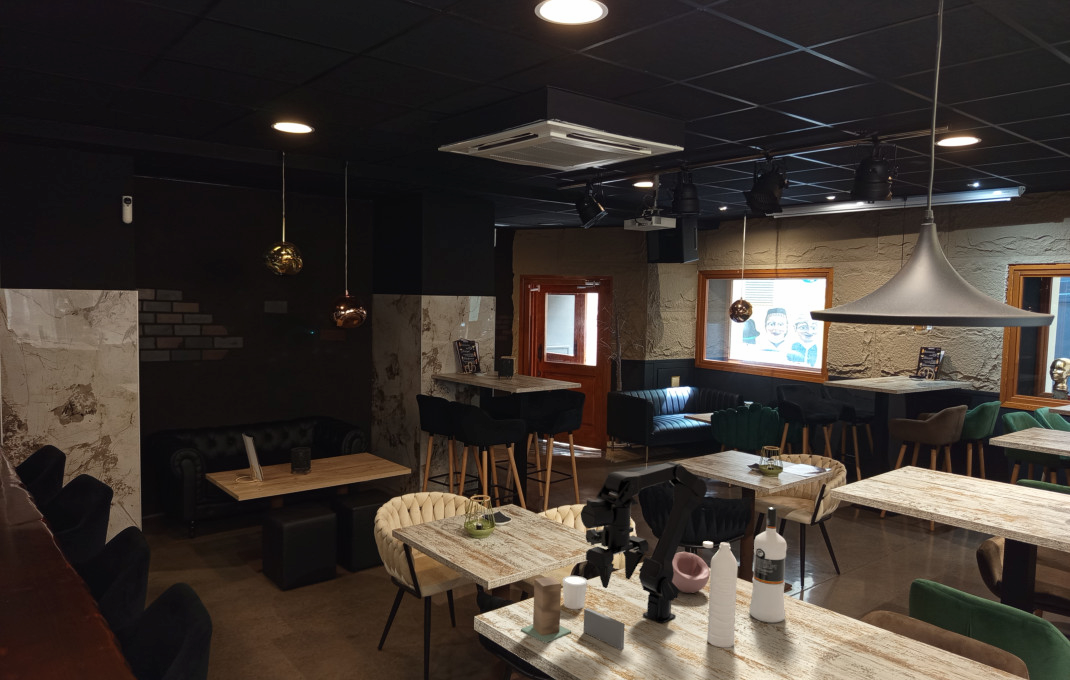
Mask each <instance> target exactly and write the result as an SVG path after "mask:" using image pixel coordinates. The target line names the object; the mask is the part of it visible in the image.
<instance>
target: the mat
mask: <svg viewBox="0 0 1070 680" xmlns="http://www.w3.org/2000/svg"><path fill="white" fill-rule="evenodd" d="M520 631H521V632H523V633H525V634H527V635H529V636H531V637H532V638H535V639H537V640H539V641H541V640H542V641H541V642H543V641H544V642H543V643H545V642H547V643H549V641H550V642H552V641H555V640H557V639H559V638H561V637H563V636H566V635H568V634H570V632H571V633H572V630H571V629H569V628H567V627H564V626H562V625H560V629H559V632H558V633H553V634H547V635H542V636H541V635H540V634H539V633H538V632H537V631H536V630H535V629H534V628H533V623H532V624H529V625H527V626H525V627H522V628H520Z"/></svg>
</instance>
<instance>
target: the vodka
mask: <svg viewBox="0 0 1070 680" xmlns="http://www.w3.org/2000/svg"><path fill="white" fill-rule="evenodd" d="M777 514H778V508H777V507H774V506H773V507H772V506H767V508H766V526H765V527H766V528H765V531H762V532H761V533H759V534H757V535H756V536H755V539H754V540H753V546H754V547H753V548H754V549H753V553H754V555H753V556H754V557H753V577H752V592H751V600H750V604H749V607H748V608H749V609H748V610H749V615H751V617H752V618H754V619H755V620H757V621H761V622H764V623H770V624H775V623H780V622H783V621H784V620H785V617H786V609H785V595H784V593H785V591H784V590H785V585H786V582H785V570H786V558H787V548H788V544H787V540H786V539H785V538H784V537H783V536H782V535H780V534H779V533H778V532H777V519H778V517H777V516H778V515H777Z"/></svg>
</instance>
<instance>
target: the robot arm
mask: <svg viewBox="0 0 1070 680" xmlns="http://www.w3.org/2000/svg"><path fill="white" fill-rule="evenodd" d="M665 482H669V483H671V485H672V486H673V490H672V496H673V498H672V499H673V506H672V508H671V510H670V514H669V516H668V519H667V522H666V524H665V527H664V529H663V532H662V535H661V536H660V540H659V541H658V545H657V547H656V549H655V553H654V554H653V555H651V556H650V557H647V556H645V555H646V552H649V542H648V541H647V539H645V538H641V537H638V536H635V535H633V534H632V535H631V533H633V532H634V527H632V526H631V515H632V514H631V513H632V506H636V505H638V504H639V502H638V500H636V499H635V498H634V497H635V496H637V495H639V494H640V493H641V491H642V490H643V489H645V488H646V489H647V488H649V487H652V486H656V485H660V484H663V483H665ZM707 490H708V487H707V484H706V482H705V480H703V478H702V479H701V478H699V477H698V476H696V475H694V473H692V472H691V471H689V470H687V468H685V466H684V465H683V464H680V463H677V462H674V461H667V462H664V463H663V464H659V465H655V466H651V467H647V468H645V469H644V468H643V469H640V470H637V471H613V472H612V471H611V472H610V473H609V474H608V475H607V477H606V480H605V481H604V483H603V485H602V486H601V488H600V490H599V491H598V493H597V495H596V499H587V500H586V504H585V505H584V506H583V507H582V508H581V511H580V519H581V522H582V524H583V526H584V527H585V528H586V529H587V530H586V531H585V541H586V542H587V543H588V544H590V545H591V546H594V545H597V544H600V545H601V546H602V547H601V546H595V547H591V548H589V549H587V550H586V552H585V561H587V562H589V563H590V564H593V565H594V566H595V567H596V570H597V572H598V576H599V578H600V582H601V586H602V587H603V588H604V589H608V586H609V583H610V579H611V576H612V572H613V569H614V563H613V562H614V559H615V558H614V557H615V555H619V554H623V555H624V568H625V569H624V571H625V573H624V574H625V579H627V580H630V579H631V578H632V576H633V574H634V572H635V571H636V569H637V566H638V565H639V563H640V561H641V560H642V558H643V557H644V556H645V557H644V558H643V562H642V564H641V566H640V568H639V569H638V571H639V574H638V579H639V582H640V584H641V587H642V590H643V591H645V592H647V593H649V594H648V599H647V610H646V611H645V612H644V613H642V616H643V617H645V618H648V619H650V620H653V621H655V622H657V623H659V624H664V623H666V622H668V621H670V620H672V619H675V618H676V616H677V615H676V614H674V613H672V601H675V599H677V598H678V597H679V593H680V590H679V589H678V588H677V587H676V586H675V585H674V584H673V582H672V580H673V576H674V571H673V563H672V562H673V559H674V556H675V554H677V552H678V551H677V550H678V548H679V546H680V542H681V539H682V538H683V534H684V533H685V530H686V527H687V524H688V522H689V519H690V516H691V513H692V512H693V511H694V510H695V509H696V508H697V507H698V506H700V505H701V504H702V502H703V500H704V498H705V496H706V495H707V492H708V491H707ZM600 527H603V529H599V530H596V529H595V528H600ZM603 547H604V548H603ZM606 547H607V548H606Z"/></svg>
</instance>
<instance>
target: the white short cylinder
mask: <svg viewBox="0 0 1070 680" xmlns="http://www.w3.org/2000/svg"><path fill="white" fill-rule="evenodd" d="M587 586H588V580H587V578H585V577H583V576H578V575H568V576H565V577H563V578H562V591H563V595H562V596H563V606H564V607H565V608H567V609H571V610H580V609H583V608H584V607H585V603H586V602H585V601H586V594H587Z"/></svg>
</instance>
